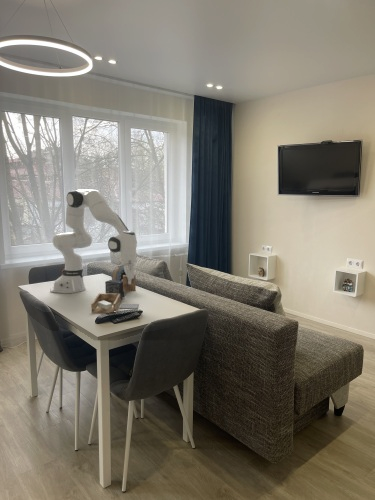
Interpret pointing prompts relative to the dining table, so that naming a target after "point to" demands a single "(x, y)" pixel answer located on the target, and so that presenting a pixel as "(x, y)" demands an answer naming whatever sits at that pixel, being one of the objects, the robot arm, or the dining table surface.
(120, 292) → the small box
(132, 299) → the dining table surface
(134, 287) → the wooden block
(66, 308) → the dining table surface
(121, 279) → the alarm clock
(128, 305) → the pad
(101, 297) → the wooden tray
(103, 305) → the offcut top
